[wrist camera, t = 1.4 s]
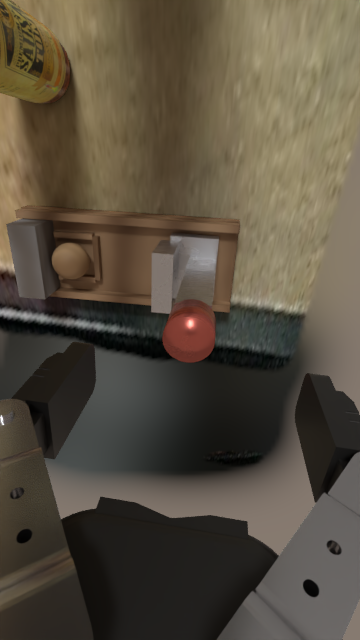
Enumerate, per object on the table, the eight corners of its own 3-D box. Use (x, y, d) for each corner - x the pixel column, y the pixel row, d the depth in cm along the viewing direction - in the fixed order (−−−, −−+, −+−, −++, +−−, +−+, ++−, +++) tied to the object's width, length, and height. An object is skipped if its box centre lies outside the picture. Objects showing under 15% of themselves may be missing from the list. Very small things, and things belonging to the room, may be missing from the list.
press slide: (221, 236, 36) (219, 295, 22) (215, 296, 40) (210, 384, 25) (163, 232, 37) (122, 287, 22) (161, 292, 40) (125, 375, 26)
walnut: (54, 246, 39) (38, 255, 36) (84, 233, 38) (69, 242, 35) (72, 277, 41) (57, 289, 37) (100, 265, 40) (88, 277, 36)
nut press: (239, 219, 37) (241, 230, 32) (229, 303, 42) (229, 324, 37) (27, 205, 39) (-1, 213, 34) (40, 287, 44) (16, 304, 39)
